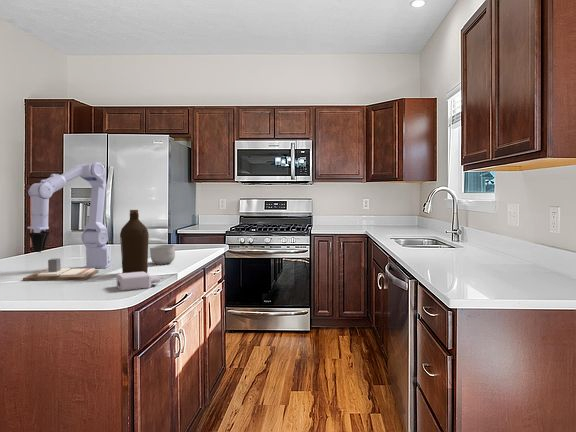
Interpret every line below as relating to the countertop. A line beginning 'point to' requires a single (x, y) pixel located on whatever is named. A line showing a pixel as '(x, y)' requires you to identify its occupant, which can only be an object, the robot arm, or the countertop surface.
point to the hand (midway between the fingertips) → (39, 251)
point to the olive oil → (134, 245)
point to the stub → (53, 268)
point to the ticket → (77, 272)
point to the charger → (136, 280)
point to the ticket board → (56, 277)
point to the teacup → (162, 254)
